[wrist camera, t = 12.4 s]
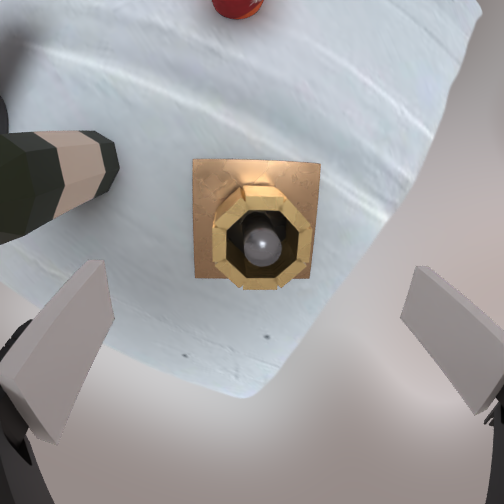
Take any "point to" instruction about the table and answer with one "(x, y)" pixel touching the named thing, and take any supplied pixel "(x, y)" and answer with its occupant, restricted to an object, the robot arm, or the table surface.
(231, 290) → the table surface
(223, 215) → the collar
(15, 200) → the wine bottle
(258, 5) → the paper cup
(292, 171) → the doorknob
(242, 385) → the table surface
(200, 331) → the table surface
